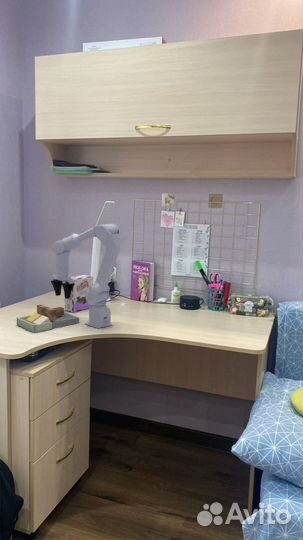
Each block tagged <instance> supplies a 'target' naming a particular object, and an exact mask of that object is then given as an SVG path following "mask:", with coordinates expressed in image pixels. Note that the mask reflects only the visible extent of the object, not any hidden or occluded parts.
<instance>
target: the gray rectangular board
mask: <svg viewBox="0 0 303 540" xmlns="http://www.w3.org/2000/svg"><path fill="white" fill-rule="evenodd" d="M31 315H32V314H31ZM31 315H24V316H19V317H16V326H18V327H20V328H22V329H25V330H27V331H28V332H31V333H33V334H37V333H41V332H45V331H46V332H47V331H51V330H53V329H57V328H62V327H68V326H72V325H76V324H80V317H79V316H75V315H73V314H71V313H67V312H65V311H64V315H62V316H57V317H56V320H54V321H51V320H50V322H47V323H42V324H37V325H34V324H32V323H29V322H27V320H26V319H27V318H29V317H30V316H31Z"/></svg>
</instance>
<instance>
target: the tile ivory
mask: <svg viewBox="0 0 303 540" xmlns="http://www.w3.org/2000/svg"><path fill="white" fill-rule="evenodd" d="M47 322H50V320H49V318H48V317H45V316H43V315H42V316H41V317H40V318H38V319H37V320H35V321H34V322H33V323H34V325H37V324H42V323H47Z"/></svg>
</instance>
